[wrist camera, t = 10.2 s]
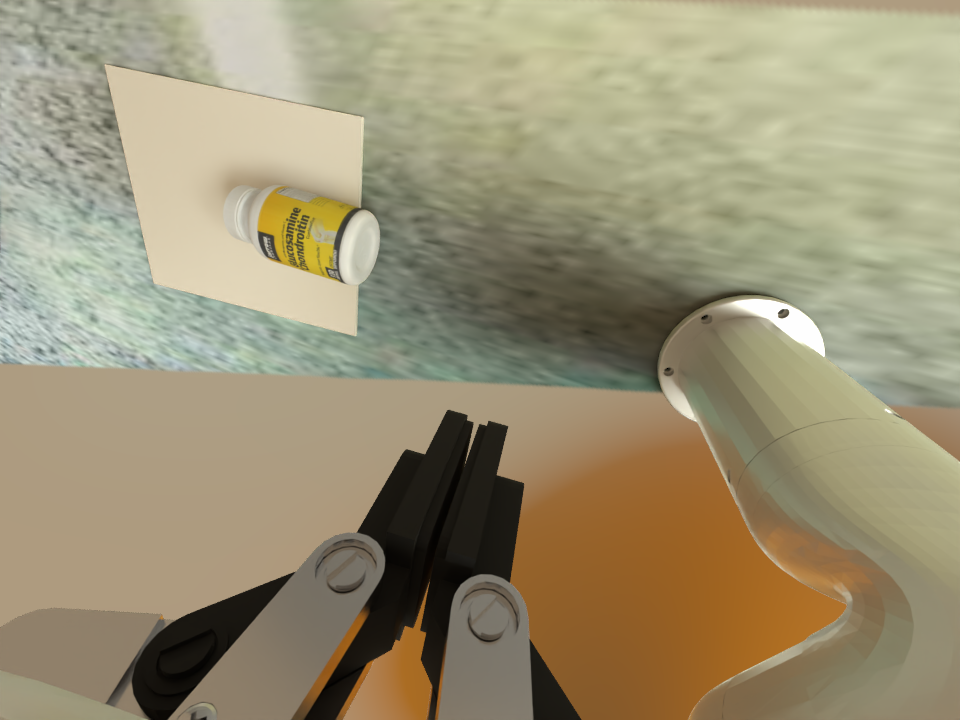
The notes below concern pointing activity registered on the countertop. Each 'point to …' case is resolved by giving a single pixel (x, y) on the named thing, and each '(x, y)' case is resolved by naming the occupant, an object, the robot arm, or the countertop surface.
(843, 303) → the countertop surface
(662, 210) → the countertop surface
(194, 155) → the mat
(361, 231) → the pill bottle
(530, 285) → the countertop surface
